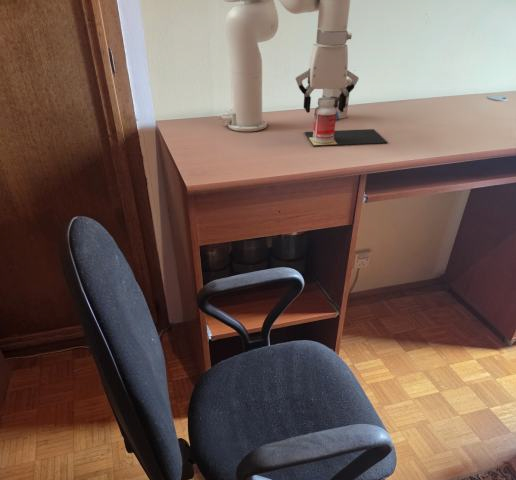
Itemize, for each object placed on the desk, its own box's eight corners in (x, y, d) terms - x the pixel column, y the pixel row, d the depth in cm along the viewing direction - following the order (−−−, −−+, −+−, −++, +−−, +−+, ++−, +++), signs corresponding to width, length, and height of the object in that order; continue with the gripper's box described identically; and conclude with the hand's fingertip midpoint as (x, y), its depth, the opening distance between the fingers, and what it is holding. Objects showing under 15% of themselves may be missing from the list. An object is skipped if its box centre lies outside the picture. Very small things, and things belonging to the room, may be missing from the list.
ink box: (330, 121, 149) (334, 81, 141) (319, 118, 151) (322, 78, 144) (347, 117, 153) (352, 77, 145) (336, 114, 156) (340, 75, 148)
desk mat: (313, 146, 130) (313, 144, 129) (304, 133, 139) (304, 131, 139) (387, 143, 131) (387, 141, 131) (373, 130, 141) (373, 128, 141)
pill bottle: (337, 141, 131) (342, 99, 124) (321, 145, 129) (325, 102, 122) (324, 136, 135) (327, 95, 128) (308, 139, 133) (311, 98, 126)
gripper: (359, 36, 119) (350, 106, 131) (295, 36, 118) (291, 108, 129) (367, 40, 114) (357, 114, 125) (300, 41, 112) (296, 115, 124)
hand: (324, 111), depth 127 cm, fingers open, 9 cm apart
